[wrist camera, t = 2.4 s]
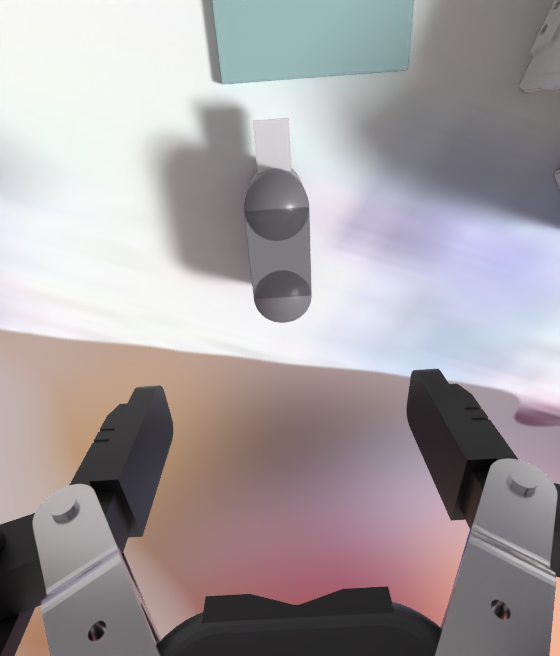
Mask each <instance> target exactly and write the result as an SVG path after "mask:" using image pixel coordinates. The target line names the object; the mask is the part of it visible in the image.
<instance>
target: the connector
mask: <svg viewBox="0 0 560 656" xmlns="http://www.w3.org/2000/svg"><path fill="white" fill-rule="evenodd" d="M253 129H254V140H255V151H256V163H257V172H256V173H255V174H254V176H253V177H252V179H251V182H250V185H249V189H248V192H247V195H246V198H245V203H244V213H245V222H246V231H247V240H248V249H249V258H250V267H251V276H252V285H253V294H254V302H255V305H256V307H257V309H258V311H259V312H260V313H261V314H262V315H263V316H264V317H265V318H267V319H269V320H271V321H274V322H290V321H293V320H296V319H298V318H299V317H301V316H302V315H303V314H304V313H305V312H306V311H307V309H308V307H309V305H310V302H311V260H310V221H309V201H308V197H307V195H306V192H305V190H304V188H303V185H302V183H301V181H300V178H299V177H298V175H297V173H296V172H295V171H294V170H293V169H292V168H291V155H290V134H289V118H282V119H268V120H255V121H253Z"/></svg>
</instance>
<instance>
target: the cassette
mask: <svg viewBox="0 0 560 656" xmlns="http://www.w3.org/2000/svg"><path fill="white" fill-rule="evenodd" d="M529 55H531V56H532V59H531V62H530V64H529V66H528V68H527V70H526V72H525V74H524V76H523V78H522V81H521V83H520V85H519V88H520V89H523V91H525V92H538V91H549V90H560V0H554V1H553V3H552V6H551V8H550V10H549V12H548V14H547V16H546V18H545V20H544V22H543V25H542V27H541V29H540V31H539V33H538V35H537V37H536V39H535V41H534V44H533V46H532V48H531V50H530V52H529Z"/></svg>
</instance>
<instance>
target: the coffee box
mask: <svg viewBox="0 0 560 656" xmlns="http://www.w3.org/2000/svg"><path fill="white" fill-rule="evenodd" d="M554 177H555V179H556V182H557V184H558V187H559V190H560V169H558V170H557V171H555V172H554Z"/></svg>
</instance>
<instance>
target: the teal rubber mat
mask: <svg viewBox="0 0 560 656" xmlns="http://www.w3.org/2000/svg"><path fill="white" fill-rule="evenodd" d="M212 3H213V11H214V20H215V28H216V37H217V45H218V53H219V62H220V70H221V78H222V84H234V83H247V82H260V81H273V80H286V79H299V78H312V77H325V76H338V75H351V74H365V73H378V72H391V71H404V70H408V61H409V50H410V38H411V27H412V15H413V4H414V0H212Z"/></svg>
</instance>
